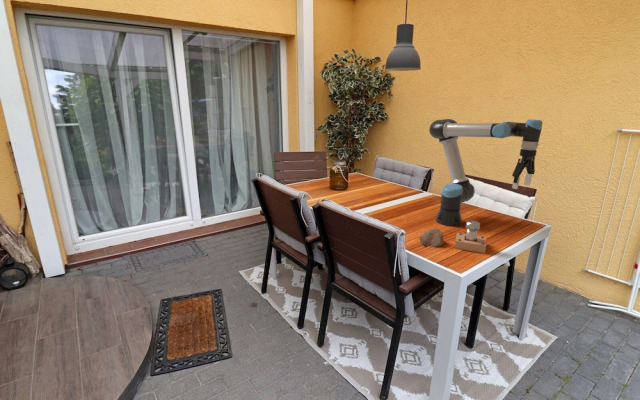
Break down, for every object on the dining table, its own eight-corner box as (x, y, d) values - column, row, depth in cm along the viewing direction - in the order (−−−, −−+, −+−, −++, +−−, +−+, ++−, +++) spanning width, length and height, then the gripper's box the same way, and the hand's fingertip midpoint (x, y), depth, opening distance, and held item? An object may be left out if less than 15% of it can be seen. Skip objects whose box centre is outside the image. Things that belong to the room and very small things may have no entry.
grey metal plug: (462, 247, 169) (466, 223, 166) (463, 242, 175) (466, 219, 171) (476, 249, 167) (480, 225, 163) (476, 244, 172) (480, 221, 169)
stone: (442, 246, 178) (438, 228, 181) (450, 244, 169) (444, 225, 172) (420, 250, 177) (416, 232, 180) (426, 248, 168) (421, 229, 171)
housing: (454, 249, 169) (455, 239, 167) (455, 241, 179) (457, 231, 178) (484, 255, 163) (486, 244, 162) (484, 245, 174) (485, 235, 172)
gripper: (524, 151, 169) (516, 191, 175) (546, 148, 182) (538, 185, 189) (510, 149, 175) (502, 188, 181) (532, 146, 188) (524, 182, 195)
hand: (520, 186), depth 185 cm, fingers open, 13 cm apart
